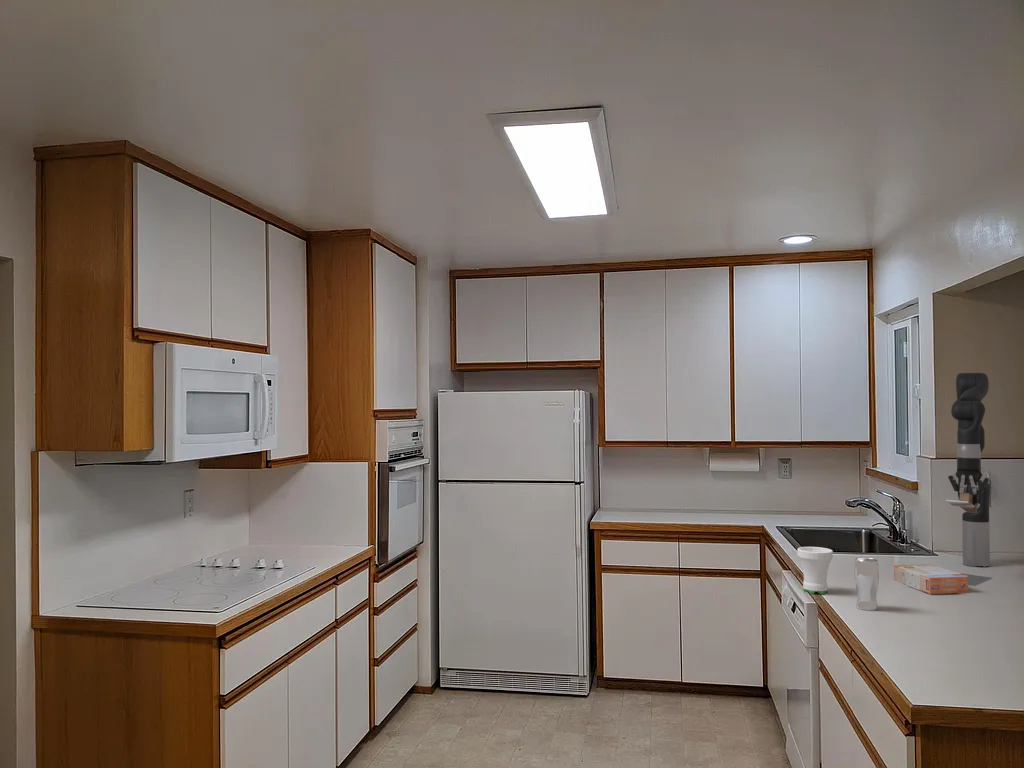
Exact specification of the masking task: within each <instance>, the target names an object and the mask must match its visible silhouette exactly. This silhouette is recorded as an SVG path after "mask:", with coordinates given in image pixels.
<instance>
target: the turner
mask: <svg viewBox="0 0 1024 768" xmlns="http://www.w3.org/2000/svg"><path fill="white" fill-rule="evenodd" d="M945 502H947V503H948V504H949V505H951V506H954V507H959V508H960V509H962V510H964V511H965V512H968V513H977V508H978V507H979V506H978V505H979V504H978V503H977V505H973V496H972V495H971V494H970V493H961V492H960V499H959V498H958V500H955V499H946V500H945Z"/></svg>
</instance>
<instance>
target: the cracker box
mask: <svg viewBox="0 0 1024 768" xmlns="http://www.w3.org/2000/svg"><path fill="white" fill-rule="evenodd" d="M960 573H961V572H957V571H956V572H955V571H953V570H951V569H946V568H943V567H940V566H936V565H933V564H930V563H928V564H925V563H924V564H903V565H902V564H901V565H899V564H898V565H894V566H893V580H894V581H895V582H898V583H901V584H902V585H905V586H907V587H910V588H912V589H915V590H918V591H920V592H923V593H926V594H929V595H941V594H942V595H943V594H961V593H963V594H965V593H969V592H970V591H969V585H968V576H966V575H963V574H964V573H962V574H960Z"/></svg>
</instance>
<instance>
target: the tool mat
mask: <svg viewBox="0 0 1024 768" xmlns="http://www.w3.org/2000/svg"><path fill="white" fill-rule="evenodd" d="M959 573H960V574H963V575H966V576H968V586H972V587H976V586H978V585H979V586H980V584H982V583H985V582H987V581H989V580H992V577H990V576H982V575H975V574H969V573H962V572H959Z"/></svg>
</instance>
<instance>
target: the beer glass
mask: <svg viewBox="0 0 1024 768" xmlns="http://www.w3.org/2000/svg"><path fill="white" fill-rule="evenodd" d="M879 566H880V565H879V560H878V559H877V558H872V557H856V558H854V581H855V587H856V591H857V602H856V608H857V609H858V610H861V611H867V612H872V611H873V612H875V611H878V608H879V607H878V601H877V595H878V594H877V593H878V589H879V582H880V567H879Z"/></svg>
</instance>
